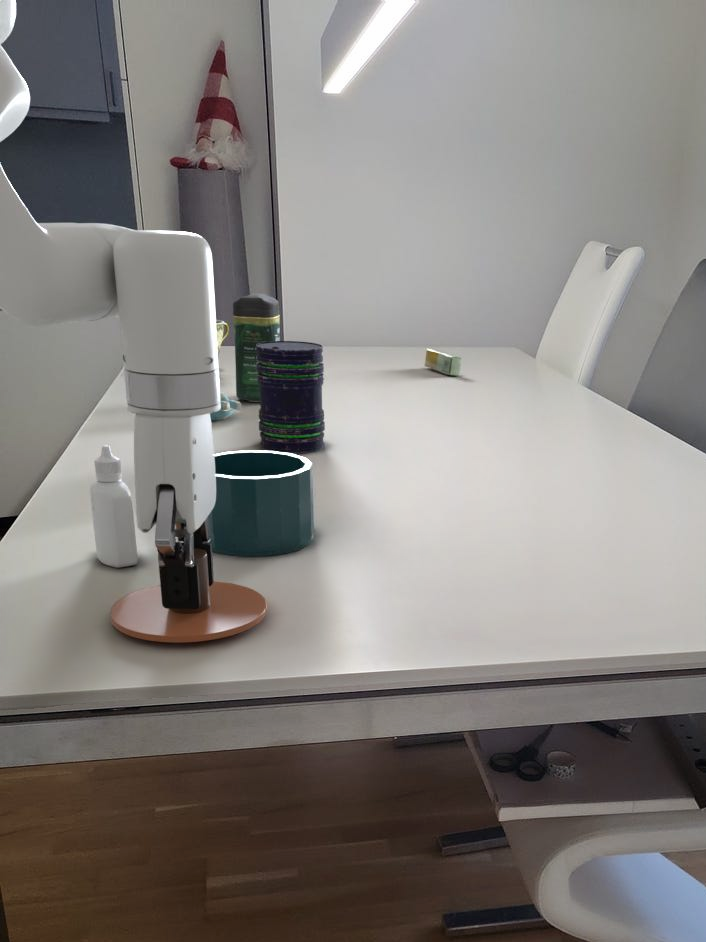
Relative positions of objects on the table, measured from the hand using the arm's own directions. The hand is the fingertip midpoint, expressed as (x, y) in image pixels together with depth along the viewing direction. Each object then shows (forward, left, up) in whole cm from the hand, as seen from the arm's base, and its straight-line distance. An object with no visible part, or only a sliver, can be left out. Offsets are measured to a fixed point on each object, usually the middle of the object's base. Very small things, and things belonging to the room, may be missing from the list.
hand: (188, 594), depth 93 cm
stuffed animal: (-17, +90, -3) cm, 92 cm away
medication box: (+23, +147, -3) cm, 149 cm away
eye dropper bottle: (-11, +15, -3) cm, 19 cm away
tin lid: (0, 0, -2) cm, 2 cm away
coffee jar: (-11, +108, -3) cm, 109 cm away
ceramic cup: (-27, +139, -3) cm, 142 cm away
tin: (+2, +24, -2) cm, 24 cm away
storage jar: (0, +70, -3) cm, 70 cm away
